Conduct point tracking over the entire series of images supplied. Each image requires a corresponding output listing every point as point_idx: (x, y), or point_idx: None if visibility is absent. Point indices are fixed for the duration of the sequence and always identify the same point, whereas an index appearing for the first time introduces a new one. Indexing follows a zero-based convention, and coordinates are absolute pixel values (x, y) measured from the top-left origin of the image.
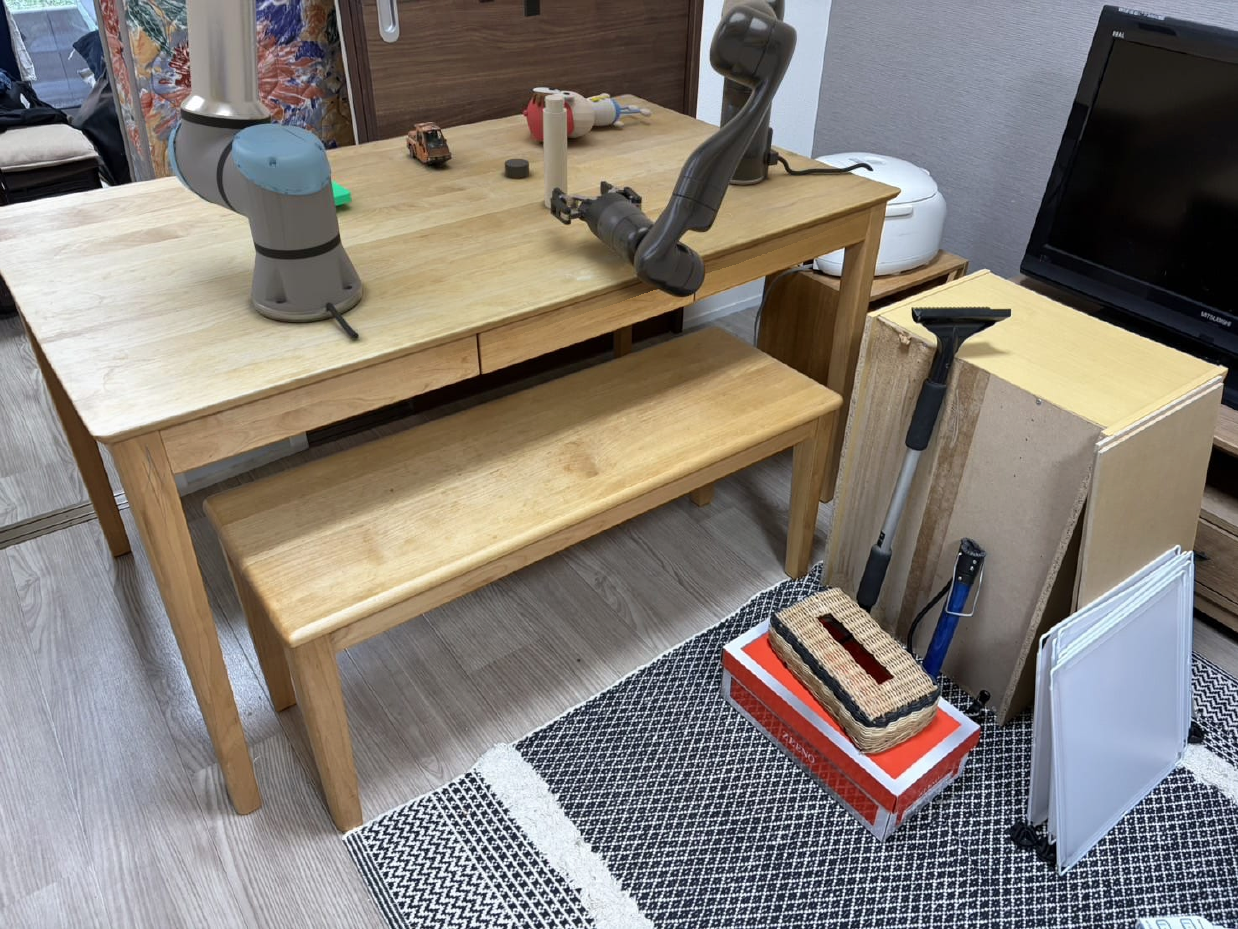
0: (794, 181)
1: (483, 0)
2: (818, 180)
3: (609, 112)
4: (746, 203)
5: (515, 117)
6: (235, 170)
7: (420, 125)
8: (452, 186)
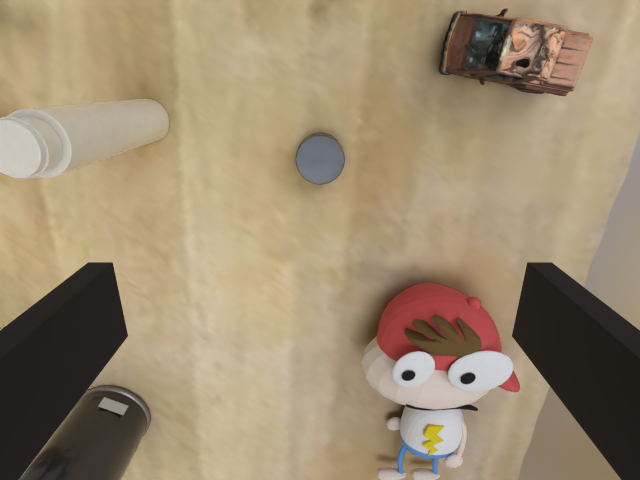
0: None
1: (530, 280)
2: None
3: (403, 426)
4: None
5: None
6: None
7: (545, 32)
8: (344, 5)
